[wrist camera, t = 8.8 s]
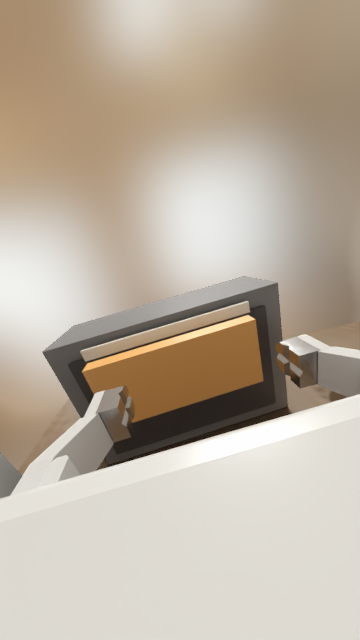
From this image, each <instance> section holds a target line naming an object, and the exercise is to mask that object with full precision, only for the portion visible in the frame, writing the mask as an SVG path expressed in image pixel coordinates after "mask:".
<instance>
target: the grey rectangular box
mask: <svg viewBox="0 0 360 640" xmlns="http://www.w3.org/2000/svg"><path fill="white" fill-rule="evenodd" d="M246 315H249V316H251V317H252V318H254V319H256V327H257V335H258V342H259V350H260V357H261V365H262V373H263V380H264V381H262V382H259V383H256V384H253V385H250V386H247V387H243V388H240V389H237V390H234V391H231V392H228V393H225V394H222V395H218V396H215V397H212V398H209V399H206V400H203V401H200V402H196V403H193V404H190V405H187V406H184V407H181V408H178V409H175V410H171V411H168V412H165V413H162V414H159V415H156V416H153V417H149V418H146V419H143V420H140V421H137V422H134V423H133V429H132V435H131V437H130V438H127V439H124V440H120V441H117V442H114V444H113V446H112V447H111V449H110V450H109V452H108V453H107V455H106V456H105V459H106V461H107V463H108V464H109V465H110V464H113V463H116V462H119V461H123V460H126V459H129V458H132V457H135V456H138V455H141V454H144V453H147V452H150V451H153V450H156V449H159V448H162V447H165V446H168V445H171V444H174V443H177V442H180V441H184V440H187V439H190V438H193V437H196V436H199V435H202V434H205V433H208V432H211V431H214V430H217V429H220V428H223V427H226V426H229V425H232V424H235V423H238V422H242V421H245V420H248V419H251V418H254V417H257V416H260V415H263V414H266V413H269V412H272V411H275V410H278V409H281V408H284V407H287V406H288V403H287V391H286V379H285V374H284V373H283V372H282V371H281V370H280V368H279V366H278V364H277V356H278V354H279V352H277V351H276V343H278V342H281V341H282V330H281V317H280V304H279V294H278V283H277V282H272V281H267V280H262V279H257V278H251V277H246V276H243V277H239V278H236V279H232V280H229V281H226V282H223V283H219V284H215V285H212V286H208V287H205V288H202V289H199V290H195V291H191V292H188V293H184V294H181V295H177V296H174V297H171V298H167V299H164V300H160V301H157V302H153V303H150V304H147V305H143V306H140V307H136V308H133V309H130V310H126V311H123V312H119V313H116V314H112V315H109V316H105V317H102V318H99V319H95V320H92V321H88V322H85V323H81V324H78V325H74V326H73V327H71V328H70V329H69V330H68V331H67V332H65V333H64V334H63V335H62V336H61V337H60V338H59V339H57V340H56V341H55V342H54V343H53V344H51V345H50V346H49V347H48V348H47V349H45V350H44V351H43V354H44V356H45V358H46V359H47V361H48V363H49V364H50V366H51V367H52V369H53V371H54V373H55V374H56V376H57V378H58V379H59V381H60V383H61V385H62V386H63V388H64V390H65V391H66V393H67V395H68V397H69V398H70V400H71V402H72V403H73V405H74V407H75V408H76V410H77V412H78V413H79V415H80V417H81V418H83V417H84V416H85V414H86V411H87V409H88V407H89V405H90V403H91V401H92V399H93V397H94V394H93V392H92V390H91V388H90V386H89V384H88V382H87V380H86V379H85V377H84V375H83V373H82V371H83V370H84V368H85V366H86V365H87V363H90V362H94V361H97V360H100V359H104V358H107V357H110V356H114V355H117V354H120V353H123V352H127V351H130V350H133V349H137V348H140V347H143V346H147V345H150V344H153V343H157V342H160V341H163V340H167V339H170V338H173V337H177V336H180V335H183V334H187V333H190V332H193V331H196V330H200V329H203V328H206V327H210V326H213V325H216V324H220V323H223V322H226V321H230V320H233V319H236V318H240V317H243V316H246Z"/></svg>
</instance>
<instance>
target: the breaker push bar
mask: <svg viewBox="0 0 360 640" xmlns="http://www.w3.org/2000/svg"><path fill="white" fill-rule="evenodd" d="M82 373H83V375H84V377H85V379H86V380H87V382H88V384H89V386H90V388H91V390H92V392H93V394H94V395H95V393H97V392H100V391H104V390H108V389H112V388H116V387H119V386H123V385H125V386H127V388H128V390H129V394H128V396H129V397H131V398H132V400H133V403H134V406H135V416H134V418H133V420H132V423H134V422H137V421H140V420H143V419H146V418H149V417H153V416H156V415H159V414H162V413H165V412H168V411H171V410H175V409H178V408H181V407H184V406H187V405H190V404H193V403H196V402H200V401H203V400H206V399H209V398H212V397H215V396H218V395H222V394H225V393H228V392H231V391H234V390H237V389H240V388H243V387H247V386H250V385H253V384H256V383H259V382H262V381H264V380H263V373H262V365H261V357H260V350H259V342H258V335H257V327H256V319H254V318H252V317H251V316H249V315H246V316H243V317H240V318H236V319H233V320H230V321H226V322H223V323H220V324H216V325H213V326H210V327H206V328H203V329H200V330H196V331H193V332H190V333H187V334H183V335H180V336H177V337H173V338H170V339H167V340H163V341H160V342H157V343H153V344H150V345H147V346H143V347H140V348H137V349H133V350H130V351H127V352H123V353H120V354H117V355H114V356H110V357H107V358H104V359H100V360H97V361H94V362H90V363H87V365H86V366H85V368H84V370H83V371H82Z"/></svg>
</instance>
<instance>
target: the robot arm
mask: <svg viewBox="0 0 360 640" xmlns="http://www.w3.org/2000/svg"><path fill="white" fill-rule="evenodd" d="M276 351H277V352H279V354H278V356H277V364H278V366H279V368H280V370H281V371H282V372H283V373H284V374H285V375H289V376H291V380H292V381H293V382H294V383H295V384H296V385H297V386H298V387H299V388H304V387H308V386H312V385H316V384H318V385H319V386H322V387H324V388H327V389H329V390H332V391H334V392H337V393H339V394H342V395H344V396H347V397H348V398H345V399H341V400H338V401H335V402H331V403H327V404H324V405H321V406H317V407H314V408H310V409H307V410H303V411H300V412H296V413H293V414H290V415H286V416H283V417H279V418H276V419H272V420H269V421H265V422H262V423H259V424H255V425H252V426H248V427H245V428H241V429H238V430H234V431H231V432H227V433H224V434H221V435H217V436H214V437H210V438H207V439H203V440H200V441H196V442H193V443H190V444H186V445H183V446H179V447H176V448H172V449H169V450H166V451H162V452H159V453H155V454H152V455H149V456H145V457H142V458H138V459H135V460H131V461H128V462H125V463H121V464H118V465H114V466H111V467H107V468H104V469H100V470H97V468H98V467H99V465H100V464H101V462H102V461H103V459H104V458H105V456H106V455H107V453H108V452H109V450H110V449H111V447H112V446H113V444H114V442H117V441H120V440H124V439H127V438H130V437H131V435H132V429H133V423H132V420H133V418H134V416H135V406H134V403H133V400H132V398H131V397H129V396H128V394H129V390H128V388H127V386H125V385H123V386H119V387H116V388H112V389H108V390H104V391H100V392H97V393H95V395H94V397H93V399H92V401H91V403H90V405H89V407H88V409H87V411H86V414H85V416H84V417H83V418H80V419H79V420H78V421H77V422H76V423H75V424H74V425H73V426H71V427H70V428H69V429H68V430H67V431H66V432H65V433H64V434H63V435H62V436H60V437H59V438H58V439H57V440H56V441H55V442H54V443H53V444H52V445H51V446H49V447H48V448H47V449H46V450H45V451H44V452H43V453H42V454H41V455H40V456H38V457H37V458H36V459H35V460H34V461H33V462H32V463H31V464H30V465H29V466H28V468H27V469H26V471H25V473H24V474H23V476H22V477H21V479H20V481H19V482H18V484H17V485H16V487H15V489H14V490H13V492H12V493H11V495H10V496H7V497H4V498H0V640H360V350H355V349H348V348H342V347H335V346H334V347H330V346H328V345H326V344H324V343H322V342H320V341H318V340H316V339H314V338H312V337H310V336H308V335H304V334H303V335H300V336H297V337H295V338H291V339H288V340H285V341H281V342H278V343H276ZM96 470H97V471H96Z"/></svg>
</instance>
